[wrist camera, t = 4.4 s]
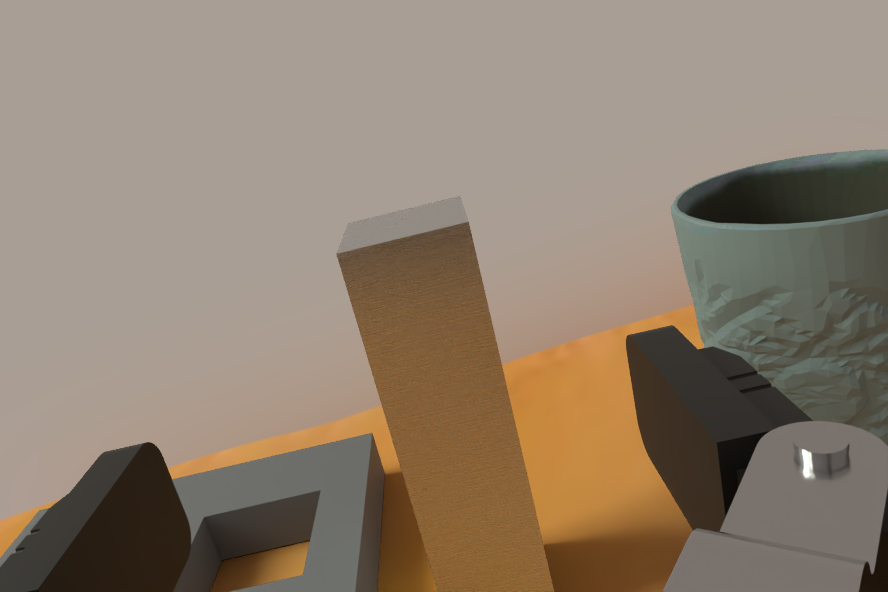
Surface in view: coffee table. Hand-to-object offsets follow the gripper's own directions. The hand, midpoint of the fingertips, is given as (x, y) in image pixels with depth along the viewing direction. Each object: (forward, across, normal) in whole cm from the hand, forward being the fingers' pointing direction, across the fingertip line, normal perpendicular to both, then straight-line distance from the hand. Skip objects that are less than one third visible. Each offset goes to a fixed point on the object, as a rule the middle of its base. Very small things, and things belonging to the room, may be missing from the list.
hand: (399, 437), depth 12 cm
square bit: (+12, 0, +14) cm, 18 cm away
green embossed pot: (+16, -15, +14) cm, 26 cm away
